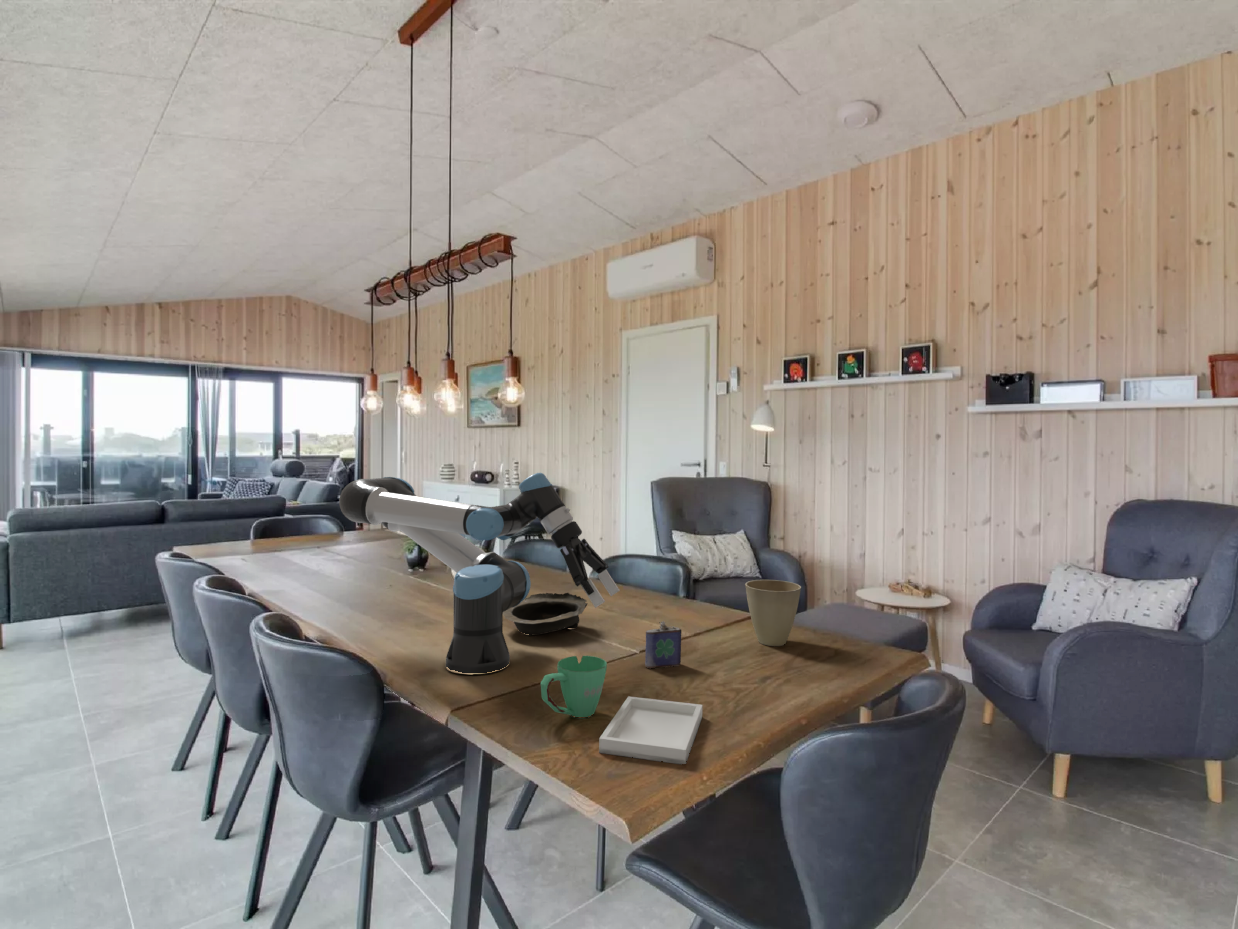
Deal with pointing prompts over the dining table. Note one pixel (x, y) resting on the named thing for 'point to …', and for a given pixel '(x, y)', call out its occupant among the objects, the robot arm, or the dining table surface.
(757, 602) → the plant pot
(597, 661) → the mug
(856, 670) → the dining table surface
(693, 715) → the cradle tray
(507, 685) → the dining table surface
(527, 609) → the stone bowl
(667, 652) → the flask
